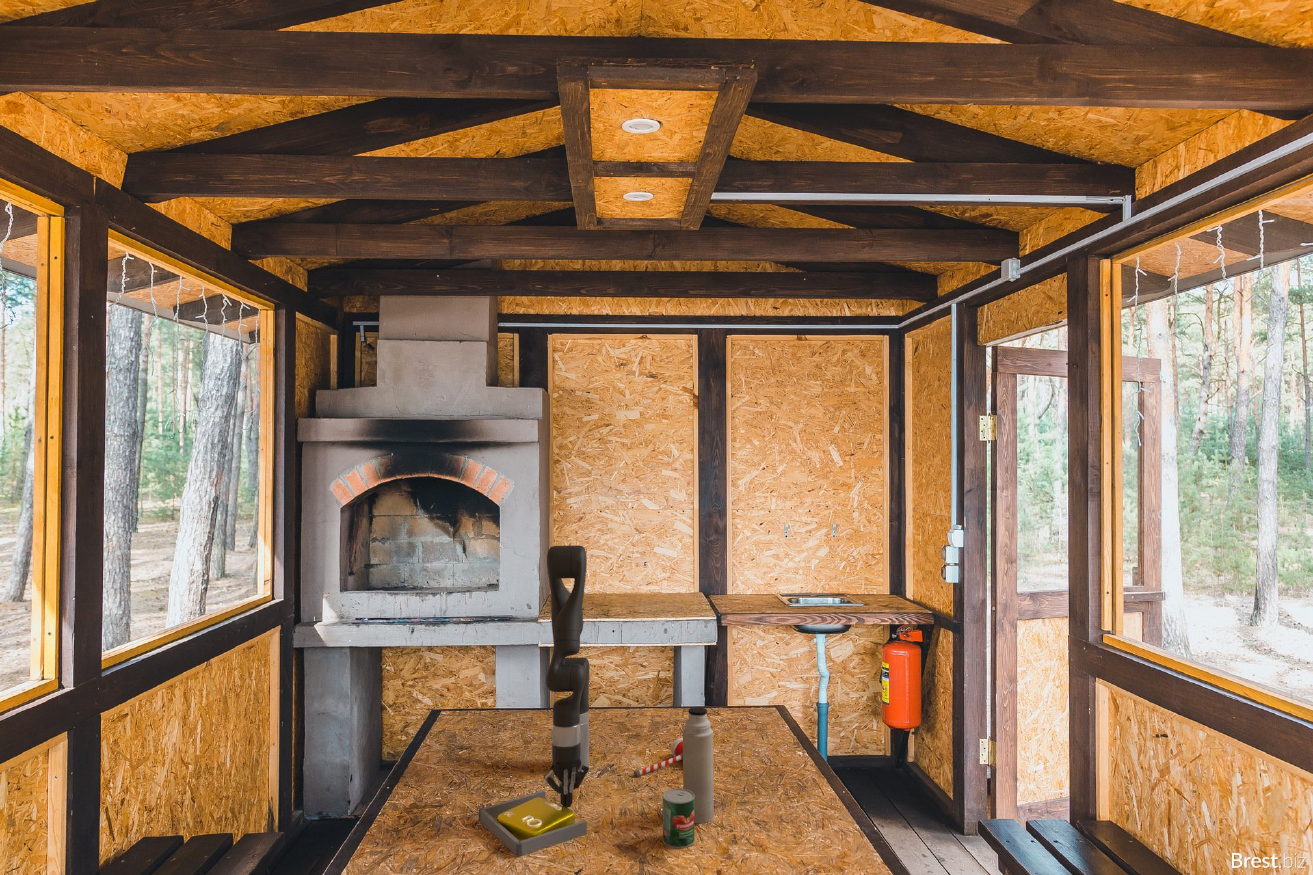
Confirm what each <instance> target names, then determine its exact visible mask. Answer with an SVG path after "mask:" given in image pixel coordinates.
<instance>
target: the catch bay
mask: <svg viewBox="0 0 1313 875" xmlns="http://www.w3.org/2000/svg"><path fill="white" fill-rule="evenodd" d="M546 794H547V793H546V791H545V790H541V791H537V792H534V793H530V794H527V795H523V796H520V797H516V798H512V799H509V800H507V801H506V800H505V801H502V802H500V803H496V804H492V805H489V806H485V807H482V808H479V809H478V822H479V823H480V824H482V825H483V826H484V827H485V829H486V830H488V831H489V832H490V833H491V834H492V835H493V836H495V838H496V839H497V840H498V841H499V842H500V843H502V844H503V845H504V846H505V847H506V848H507V849H509V851H511V852H512V853H513V854H514V855H515V856H516V857H517V858H520V857H522V856H525V855H528V854H531V853H534V852H538V851H540V850H543V849H546V848H549V847H552V846H554V845H555V846H556V845H558V844H561V843H564V842H567V841H571V840H572V839H576V838H579V837H581V836H585V835H587V834H588V822H587V820H582V821H579V822H575V824H572V825H569V826H566V827H563V828H560V829H556V830H553V831H550V832H547V833H544V834H541V835H538V836H535V837H532V838H529V839H526V840H523V841H519V840H518V839H516V838H515V837H514V836H513V835H512V834H511V833H510V832H509V831H507V830H506V829H505V828H504V827H503V826H502V825H501V824H500V823H499V822H498V820H496V818H498V815H500V814H501V813H503V812H506V811H508V810H510V809H512V808H514V807H516V806H519V805H521V804H523V803H525V802H527V801H530V800H532V799H534V798H537V797H540V798H544V799H546V798H547V797H546ZM546 800H547V799H546Z"/></svg>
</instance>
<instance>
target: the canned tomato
mask: <svg viewBox="0 0 1313 875" xmlns="http://www.w3.org/2000/svg"><path fill="white" fill-rule="evenodd" d="M694 797H695V796H694V793H693V792H691V791H689V790H686V789H683V788H672V789H668V790H666V791H664V793H663V794H662V843H663V844H664V845H665V846H666V847H669V848H671V849H672V848H673V849H685V848H686V849H687V848H690V847H692V845H694V843H695V841H696V840H695V831H696V830H695V824H696V823H694Z"/></svg>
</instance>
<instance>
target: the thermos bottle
mask: <svg viewBox="0 0 1313 875" xmlns="http://www.w3.org/2000/svg"><path fill="white" fill-rule="evenodd" d="M707 714H708V709H707V708H705V707H701V706H693V707H690V708H688V719H686V721H685V724H684V728H683V730H682V738H683V760H682V776H683V777H682V786H683V787H682V789H686V790H689V791H691V792H693V793H694V796H695V797H694V823H695V824H706V823H709V822H711V821H713V819H714V815H715V814H714V811H715V810H714V807H715V806H714V804H715V803H714V802H715V801H714V731H713V729H712V728H711V725H712V724H711V721H710V720H709V719H708V717H707V716H708V715H707Z"/></svg>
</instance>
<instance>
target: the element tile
mask: <svg viewBox="0 0 1313 875" xmlns="http://www.w3.org/2000/svg"><path fill="white" fill-rule="evenodd" d="M575 818H576V816H575V811H574V810H573V809H570V808H569V807H568V808H566V807H563V806H562V805H561V804H558V803H556V802H553V801H551V800H548V799H544V798H540V797H537V798H534V799H532V800H530V801H527V802H525V803H523V804H521V805H519V806H516V807H514V808H512V809H510V810H508V811H506V812H503V813H501V814H500V815H498V817H497V822H499V823H500V824H501V825H502V826H503V827H504V828H505V829H506V830H507V831H509V832H510V833H511V834H512V835H513V836H514V837H515V838H516V839H518V840H519V841H523V840H526V839H529V838H532V837H535V836H538V835H541V834H544V833H547V832H550V831H553V830H556V829H560V828H563V827H566V826H569V825H572V824H575V823H576V822H575V820H576V819H575Z"/></svg>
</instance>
